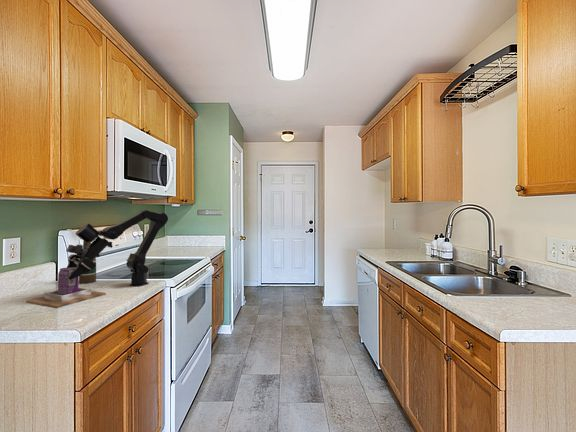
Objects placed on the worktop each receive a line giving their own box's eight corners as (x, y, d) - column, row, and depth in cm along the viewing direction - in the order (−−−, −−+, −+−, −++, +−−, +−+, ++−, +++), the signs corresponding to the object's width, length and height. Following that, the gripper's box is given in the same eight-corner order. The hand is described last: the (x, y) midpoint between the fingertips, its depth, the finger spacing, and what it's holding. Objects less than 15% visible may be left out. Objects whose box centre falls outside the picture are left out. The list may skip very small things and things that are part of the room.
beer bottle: (85, 284, 154) (84, 237, 153) (75, 283, 157) (74, 237, 156) (99, 281, 161) (99, 236, 161) (89, 280, 164) (89, 235, 163)
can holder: (76, 290, 143) (76, 283, 143) (105, 294, 135) (105, 287, 135) (26, 302, 124) (26, 295, 124) (57, 307, 117) (57, 300, 117)
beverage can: (80, 294, 133) (81, 266, 133) (74, 297, 126) (74, 268, 127) (62, 295, 131) (63, 267, 132) (54, 298, 124) (55, 269, 125)
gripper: (72, 236, 139) (43, 263, 130) (87, 238, 127) (55, 269, 119) (92, 251, 145) (65, 278, 137) (108, 255, 133) (79, 285, 125)
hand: (66, 277), depth 129 cm, fingers open, 9 cm apart
